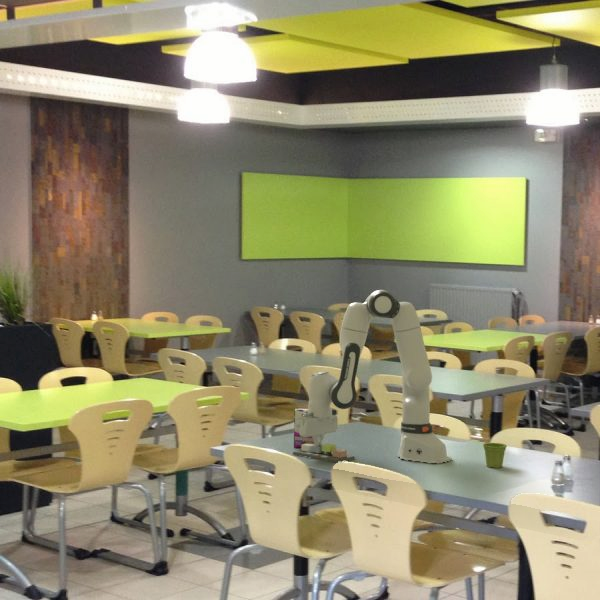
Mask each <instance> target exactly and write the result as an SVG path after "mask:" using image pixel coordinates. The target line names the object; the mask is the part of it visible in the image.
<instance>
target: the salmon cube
mask: <svg viewBox="0 0 600 600" xmlns="http://www.w3.org/2000/svg"><path fill="white" fill-rule="evenodd" d="M347 452H348V451H347V449H341V448H336V450H333V457H337V458H340V459H341V458H342V457H347V455H348V453H347Z"/></svg>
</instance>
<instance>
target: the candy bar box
mask: <svg viewBox="0 0 600 600" xmlns="http://www.w3.org/2000/svg"><path fill="white" fill-rule="evenodd" d="M304 414H308V408H300V407H298V408H295V409H294V413H293V418H294V419H293V433H294V434H293V448H296V449H301V445H302V444H307V443H308V444H314V440H313V438H312V436H311V437H302V436H300V434H299V431H300V423H301V420H302V417H303V416H304ZM304 417H305V416H304ZM318 438H319V436H318Z"/></svg>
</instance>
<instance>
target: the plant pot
mask: <svg viewBox="0 0 600 600" xmlns="http://www.w3.org/2000/svg"><path fill="white" fill-rule="evenodd" d="M482 446H483V449H484V454H485V455H484V456H485V462H486V464H485V465H486V467H487V466H488V468H495V469H499V467H500V468H503V464H504V459H505V458H504V457H505V452H506V450H507V449H506V448H507V446H508V444H505V443H500V442H485V443H482Z"/></svg>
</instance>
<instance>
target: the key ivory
mask: <svg viewBox="0 0 600 600" xmlns="http://www.w3.org/2000/svg"><path fill="white" fill-rule="evenodd" d="M313 445H314V444H308V443H307V444H302V445H301V448H300V450H301V451H305V452H309V453H310V452H312V446H313Z"/></svg>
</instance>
